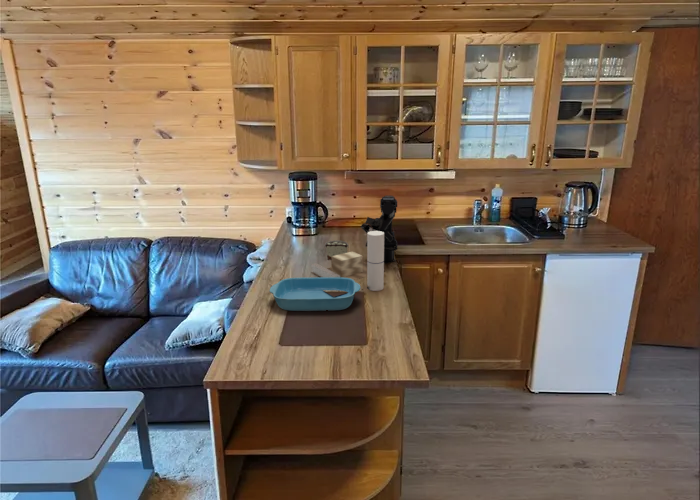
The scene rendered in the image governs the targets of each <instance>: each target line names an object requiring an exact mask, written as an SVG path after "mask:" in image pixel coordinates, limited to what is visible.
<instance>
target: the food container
mask: <svg viewBox="0 0 700 500" xmlns="http://www.w3.org/2000/svg"><path fill="white" fill-rule="evenodd" d="M324 248H325V252H326V259H327V261H330V260H331V261H332V256H335V255H339V254H344V253H348V249H349V248H350V247H349V244H348V242H347V241H344V240H338V239H337V240H329V241H326V242H325V243H324Z"/></svg>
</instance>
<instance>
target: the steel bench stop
mask: <svg viewBox="0 0 700 500" xmlns="http://www.w3.org/2000/svg"><path fill="white" fill-rule="evenodd" d="M326 268H327V267H324V266H323V265H321V264H319V263H317V262H315V263H311V272H312V273H311V274H313V273H314V274H316V275H318V276H320V277H340V275H338V274H336V273H334V272H332V271H330V270H328V269H326ZM314 274H313V275H314ZM316 275H315V276H316ZM318 276H317V277H318Z"/></svg>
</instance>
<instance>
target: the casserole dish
mask: <svg viewBox="0 0 700 500" xmlns="http://www.w3.org/2000/svg"><path fill="white" fill-rule="evenodd" d="M326 291H342V292H346V293H342V294H339V295H336V296H333V295H331V294H330V293H328V292H326ZM359 291H361V285H360V284H359V283H358V282H356V281H355V280H353V279H350V278H343V277H318V276H316V277H313V276H312V277H305V276H304V277H287V278H284V279H281V280H280V281H278V282H277V283H275V284H272V285H271V286H270V288H269V293H270V294H272V295H273V298H274V300H275V302H276V304H277V306H278V307H279V308H281V309H282V310H285V311H291V312H292V311H293V312H296V311H297V312H300V311H301V312H311V311H313V312H314V311H315V312H317V311H321V312H323V311H326V310H328V311H341V310H345V309H347V308H349V307H350V306H351V305H352V303H353V300H354V298H355V293H359ZM328 311H327V312H328Z"/></svg>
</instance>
